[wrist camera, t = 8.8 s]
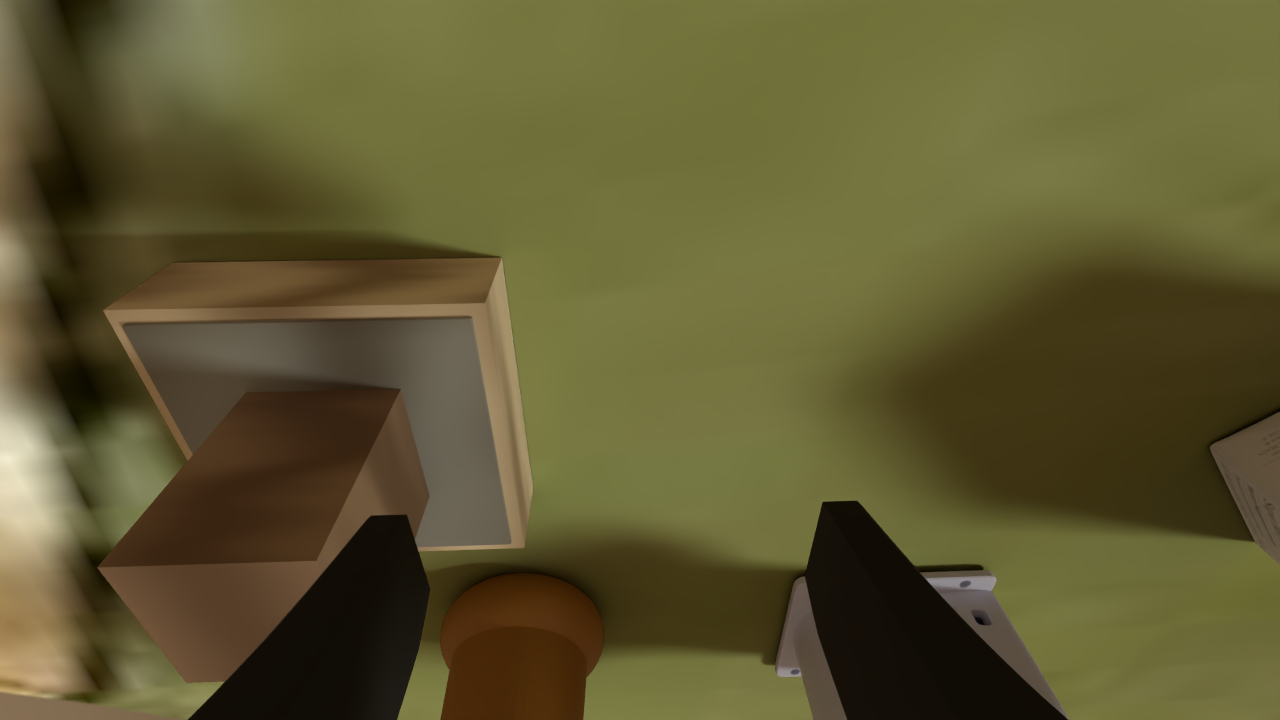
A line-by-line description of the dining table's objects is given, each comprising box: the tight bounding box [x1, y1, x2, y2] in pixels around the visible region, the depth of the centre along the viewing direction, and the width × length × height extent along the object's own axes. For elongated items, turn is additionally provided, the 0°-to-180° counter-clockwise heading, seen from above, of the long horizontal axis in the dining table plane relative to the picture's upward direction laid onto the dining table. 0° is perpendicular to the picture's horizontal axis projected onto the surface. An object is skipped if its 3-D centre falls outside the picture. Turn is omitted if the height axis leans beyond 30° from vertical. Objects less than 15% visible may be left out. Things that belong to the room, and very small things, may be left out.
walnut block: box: [97, 389, 430, 683], centre depth 16 cm, size 4×4×6 cm
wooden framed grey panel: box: [103, 258, 533, 551], centre depth 20 cm, size 10×10×3 cm
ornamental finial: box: [440, 573, 604, 720], centre depth 26 cm, size 8×8×8 cm
